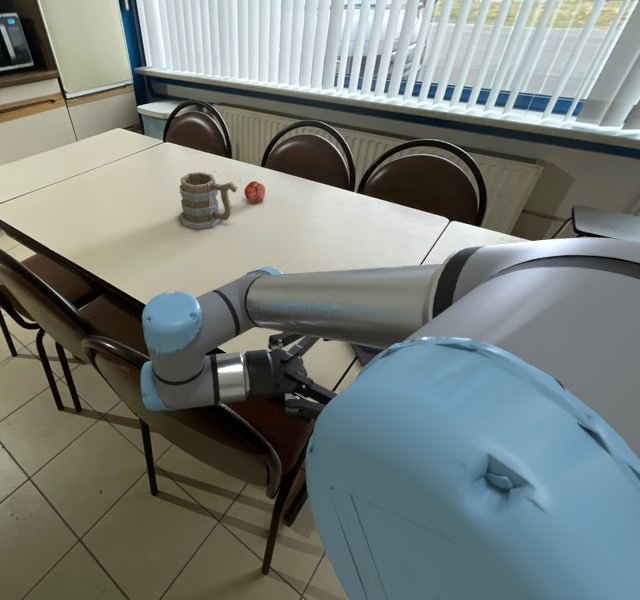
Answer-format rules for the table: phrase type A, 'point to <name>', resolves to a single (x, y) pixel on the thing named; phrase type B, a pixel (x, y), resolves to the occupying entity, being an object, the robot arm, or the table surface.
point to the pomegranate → (254, 192)
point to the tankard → (203, 200)
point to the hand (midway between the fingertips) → (376, 361)
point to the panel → (365, 353)
